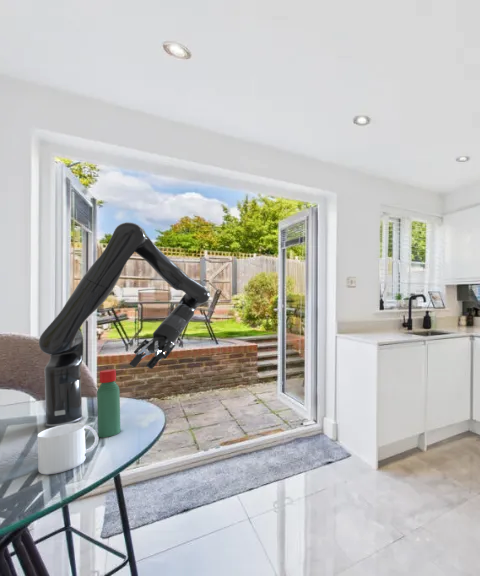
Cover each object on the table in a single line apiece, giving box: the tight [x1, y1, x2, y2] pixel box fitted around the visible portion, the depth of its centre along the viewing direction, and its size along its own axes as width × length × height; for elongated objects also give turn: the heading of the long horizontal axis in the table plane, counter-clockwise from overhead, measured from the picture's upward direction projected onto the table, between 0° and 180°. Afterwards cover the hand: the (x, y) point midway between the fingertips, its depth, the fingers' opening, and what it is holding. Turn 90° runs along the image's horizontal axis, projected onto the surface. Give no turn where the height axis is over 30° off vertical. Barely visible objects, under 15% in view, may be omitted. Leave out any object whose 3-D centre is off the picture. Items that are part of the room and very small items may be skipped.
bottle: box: [96, 380, 121, 438], centre depth 111 cm, size 6×6×20 cm
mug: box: [37, 422, 100, 475], centre depth 92 cm, size 12×9×9 cm
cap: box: [99, 368, 117, 384], centre depth 110 cm, size 4×4×3 cm
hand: (140, 366), depth 120 cm, fingers open, 8 cm apart
